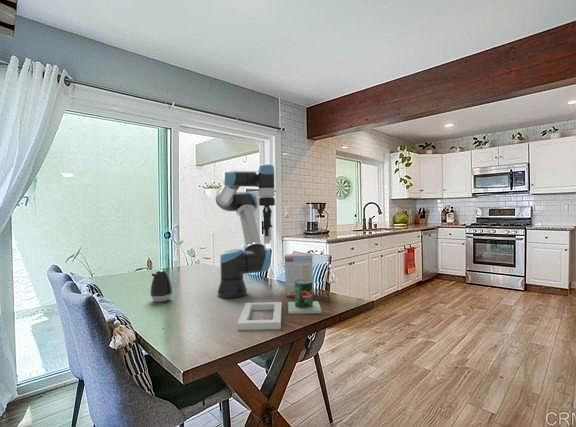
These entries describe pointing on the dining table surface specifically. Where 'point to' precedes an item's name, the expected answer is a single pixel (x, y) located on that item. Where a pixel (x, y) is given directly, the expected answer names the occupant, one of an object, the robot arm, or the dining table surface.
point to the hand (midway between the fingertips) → (267, 242)
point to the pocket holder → (260, 324)
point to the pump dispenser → (161, 287)
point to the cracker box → (297, 270)
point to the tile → (295, 310)
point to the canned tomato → (303, 294)
